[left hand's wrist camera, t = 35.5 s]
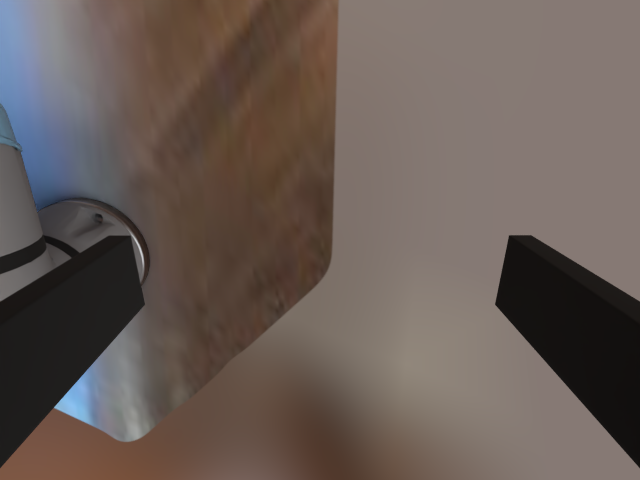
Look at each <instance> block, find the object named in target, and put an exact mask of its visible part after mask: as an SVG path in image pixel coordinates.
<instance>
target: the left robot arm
mask: <svg viewBox="0 0 640 480" xmlns="http://www.w3.org/2000/svg"><path fill="white" fill-rule="evenodd" d="M21 151H22V147H21V146H20V144H18V143H17V142H16V139H15V136H14V133H13V130H12V127H11V124H10V121H9V118H8V116H7V113H6V111H5V109H4V107H3V106H2V105H1V104H0V468H1V467H2V465H3V464H4V463H5V462H6V461H7V460H8V459H9V457H10V456H11V455H12V454H13V453H14V452H15V451H16V450H17V448H18V447H19V446H20V445H21V444H22V443H23V442H24V441H25V439H26V438H27V437H28V436H29V435H30V434H31V433H32V432H33V430H34V429H35V428H36V427H37V426H38V425H39V424H40V422H41V421H42V420H43V419H44V418H45V417H46V416H47V415H48V413H49V412H50V411H51V410H52V409H53V408H54V407H55V406H56V404H57V403H58V402H59V401H60V400H61V399H62V398H63V397H64V395H65V394H66V393H67V392H68V391H69V390H70V389H71V387H72V386H73V385H74V384H75V383H76V382H77V381H78V380H79V378H80V377H81V376H82V375H83V374H84V373H85V372H86V371H87V369H88V368H89V367H90V366H91V365H92V364H93V363H94V361H95V360H96V359H97V358H98V357H99V356H100V355H101V354H102V352H103V351H104V350H105V349H106V348H107V347H108V346H109V345H110V343H111V342H112V341H113V340H114V339H115V338H116V337H117V335H118V334H119V333H120V332H121V331H122V330H123V329H124V328H125V326H126V325H127V324H128V323H129V322H130V321H131V320H132V319H133V317H134V316H135V315H136V314H137V313H138V312H139V311H140V309H141V308H142V307H143V306H144V305H145V303H144V298H143V293H142V288H141V286H142V284H143V283H144V281H145V279H146V277H147V275H148V271H149V252H148V248H147V245H146V243H145V240H144V238H143V236H142V234H141V233H140V231H139V230H138V229H137V227H136V226H135V225H134V224H133V223H132V221H131V220H130V219H128V218H127V217H126V216H125V215H124V214H123V213H121V212H120V211H118V210H117V209H115V208H113V207H111V206H109V205H107V204H105V203H102V202H100V201H96V200H92V199H85V198H73V199H67V200H63V201H60V202H57V203H54V204H51V205H49V206H47V207H45V208H43V209H41V210H40V211H38V212H37V210H36V206H35V202H34V199H33V195H32V192H31V188H30V184H29V181H28V177H27V174H26V170H25V166H24V163H23V159H22V156H21ZM495 305H496V306H497V307H498V308H499V309H500V311H501V312H502V313H503V314H504V315H505V316H506V317H507V318H508V320H509V321H510V322H511V323H512V324H513V325H514V326H515V328H516V329H517V330H518V331H519V332H520V333H521V334H522V335H523V337H524V338H525V339H526V340H527V341H528V342H529V343H530V344H531V346H532V347H533V348H534V349H535V350H536V351H537V352H538V353H539V355H540V356H541V357H542V358H543V359H544V360H545V361H546V363H547V364H548V365H549V366H550V367H551V368H552V369H553V371H554V372H555V373H556V374H557V375H558V376H559V377H560V378H561V380H562V381H563V382H564V383H565V384H566V385H567V386H568V387H569V389H570V390H571V391H572V392H573V393H574V394H575V395H576V396H577V398H578V399H579V400H580V401H581V402H582V403H583V404H584V405H585V407H586V408H587V409H588V410H589V411H590V412H591V413H592V415H593V416H594V417H595V418H596V419H597V420H598V421H599V422H600V424H601V425H602V426H603V427H604V428H605V429H606V430H607V431H608V433H609V434H610V435H611V436H612V437H613V438H614V439H615V441H616V442H617V443H618V444H619V445H620V446H621V447H622V448H623V450H624V451H625V452H626V453H627V454H628V455H629V456H630V458H631V459H632V460H633V461H634V462H635V463H636V464H637V465H638V467H639V468H640V301H638V300H636V299H635V298H633V297H631V296H630V295H628V294H627V293H625V292H623V291H622V290H620V289H618V288H617V287H615V286H613V285H612V284H610V283H608V282H607V281H605V280H604V279H602V278H600V277H599V276H597V275H595V274H594V273H592V272H590V271H589V270H587V269H585V268H584V267H582V266H581V265H579V264H577V263H576V262H574V261H572V260H571V259H569V258H567V257H566V256H564V255H562V254H561V253H559V252H558V251H556V250H554V249H553V248H551V247H549V246H548V245H546V244H544V243H543V242H541V241H540V240H538V239H536V238H535V237H533V236H531V235H510V236H509V239H508V244H507V249H506V254H505V258H504V263H503V268H502V273H501V278H500V283H499V288H498V293H497V298H496V303H495Z"/></svg>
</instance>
